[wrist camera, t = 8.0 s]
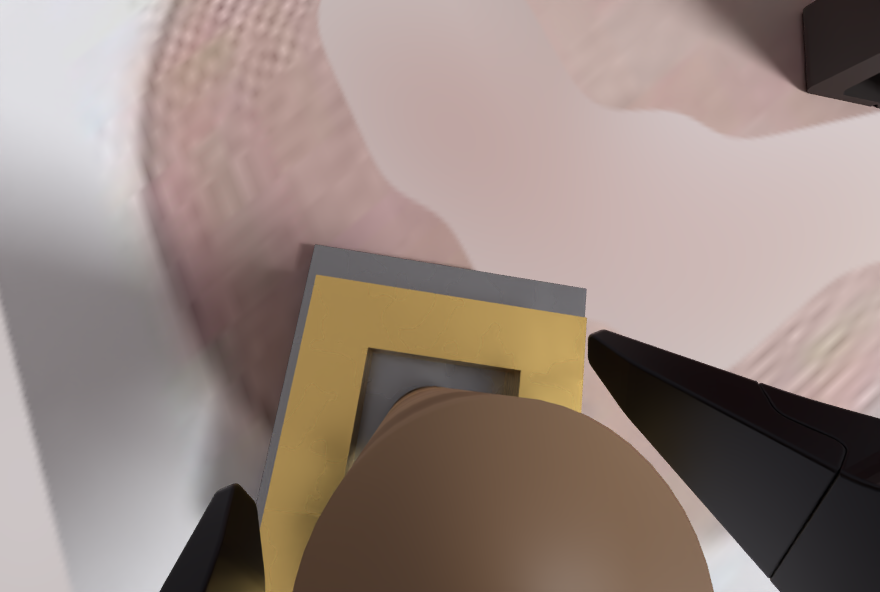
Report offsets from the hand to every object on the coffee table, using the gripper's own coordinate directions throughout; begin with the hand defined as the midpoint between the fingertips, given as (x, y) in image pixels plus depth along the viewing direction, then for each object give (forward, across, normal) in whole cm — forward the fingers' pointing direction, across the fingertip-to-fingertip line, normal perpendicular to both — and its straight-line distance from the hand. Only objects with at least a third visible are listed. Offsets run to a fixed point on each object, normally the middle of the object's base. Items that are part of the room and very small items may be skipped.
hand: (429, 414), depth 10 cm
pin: (+5, 0, +7) cm, 8 cm away
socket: (+5, 0, +7) cm, 9 cm away
